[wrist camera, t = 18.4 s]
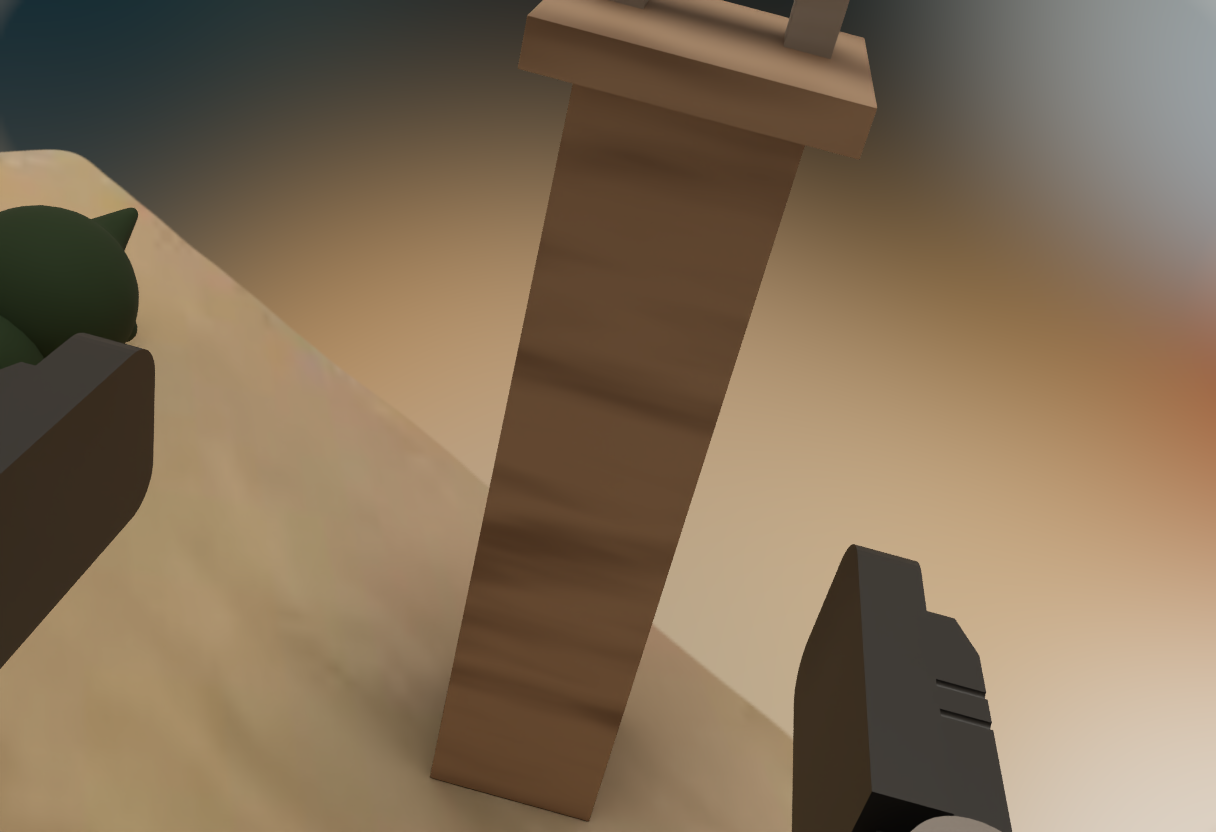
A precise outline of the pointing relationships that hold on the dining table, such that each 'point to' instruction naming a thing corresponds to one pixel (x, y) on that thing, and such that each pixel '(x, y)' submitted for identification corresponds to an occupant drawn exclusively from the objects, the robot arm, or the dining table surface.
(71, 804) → the dining table surface
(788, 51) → the walnut stand
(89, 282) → the toy figurine
